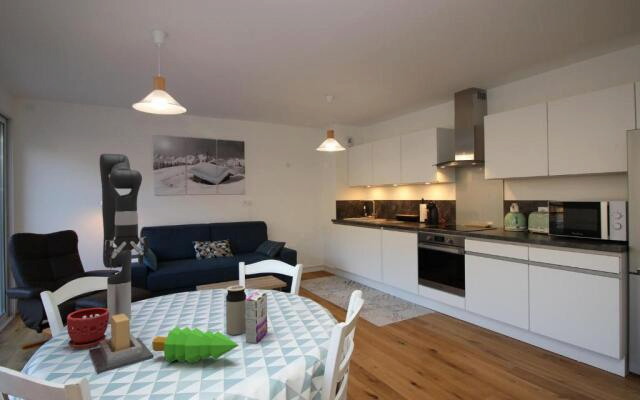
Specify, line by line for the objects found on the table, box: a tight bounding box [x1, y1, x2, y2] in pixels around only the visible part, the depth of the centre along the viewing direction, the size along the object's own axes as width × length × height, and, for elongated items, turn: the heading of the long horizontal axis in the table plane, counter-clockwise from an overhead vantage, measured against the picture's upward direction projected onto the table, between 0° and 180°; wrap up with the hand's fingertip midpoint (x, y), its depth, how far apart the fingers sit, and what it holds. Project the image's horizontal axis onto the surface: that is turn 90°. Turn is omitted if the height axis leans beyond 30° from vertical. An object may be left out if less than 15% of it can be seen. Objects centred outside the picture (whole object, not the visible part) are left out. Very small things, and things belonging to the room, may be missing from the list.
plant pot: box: [66, 307, 109, 350], centre depth 126 cm, size 13×13×12 cm
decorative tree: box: [152, 326, 240, 365], centre depth 111 cm, size 11×12×30 cm
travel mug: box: [225, 285, 247, 336], centre depth 137 cm, size 8×8×18 cm
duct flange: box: [88, 333, 154, 375], centre depth 116 cm, size 20×16×4 cm
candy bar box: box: [245, 291, 268, 344], centre depth 130 cm, size 11×5×16 cm, turn 168°
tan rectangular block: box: [110, 314, 131, 352], centre depth 116 cm, size 4×9×12 cm, turn 41°
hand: (127, 266), depth 126 cm, fingers open, 8 cm apart
